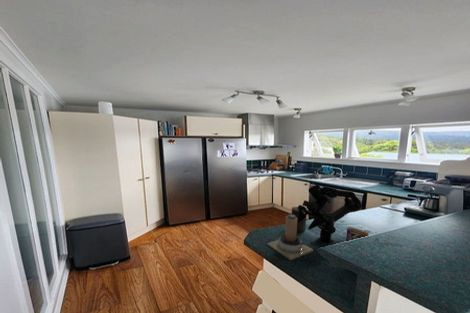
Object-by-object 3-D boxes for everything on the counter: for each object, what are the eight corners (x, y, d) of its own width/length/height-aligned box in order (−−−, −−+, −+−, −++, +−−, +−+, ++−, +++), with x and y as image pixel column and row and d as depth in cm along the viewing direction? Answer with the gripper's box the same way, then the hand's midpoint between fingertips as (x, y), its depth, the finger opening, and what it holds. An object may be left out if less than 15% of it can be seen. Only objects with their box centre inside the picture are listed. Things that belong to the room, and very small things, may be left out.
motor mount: (288, 238, 125) (289, 229, 124) (313, 251, 110) (313, 242, 110) (267, 244, 115) (267, 235, 115) (290, 260, 101) (291, 250, 101)
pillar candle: (292, 231, 134) (294, 209, 132) (288, 225, 143) (290, 204, 142) (307, 232, 134) (309, 210, 132) (302, 226, 143) (304, 205, 142)
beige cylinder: (294, 238, 115) (296, 214, 114) (297, 244, 109) (298, 218, 108) (283, 238, 116) (285, 213, 115) (285, 243, 110) (287, 217, 109)
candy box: (366, 261, 102) (369, 231, 101) (364, 265, 99) (367, 234, 98) (346, 254, 109) (349, 226, 107) (344, 257, 105) (346, 228, 104)
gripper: (300, 191, 125) (284, 211, 121) (324, 199, 108) (307, 223, 104) (310, 203, 128) (294, 223, 125) (335, 213, 111) (318, 236, 108)
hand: (302, 225), depth 115 cm, fingers open, 9 cm apart
